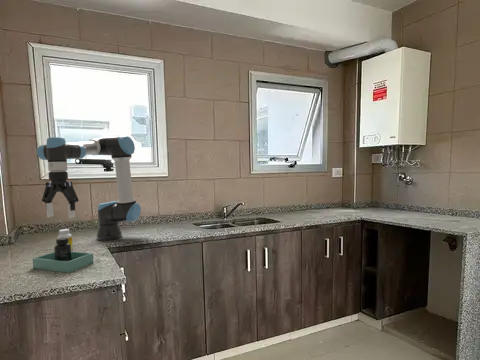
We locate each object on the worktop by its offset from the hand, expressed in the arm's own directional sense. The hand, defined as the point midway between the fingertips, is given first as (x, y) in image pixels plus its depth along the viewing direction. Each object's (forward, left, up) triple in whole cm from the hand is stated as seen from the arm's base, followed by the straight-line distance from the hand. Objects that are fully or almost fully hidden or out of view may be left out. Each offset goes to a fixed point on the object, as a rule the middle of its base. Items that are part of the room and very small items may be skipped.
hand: (61, 217), depth 137 cm
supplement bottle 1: (-15, -17, -23) cm, 32 cm away
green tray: (0, 0, -23) cm, 23 cm away
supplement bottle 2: (0, 0, -22) cm, 22 cm away
